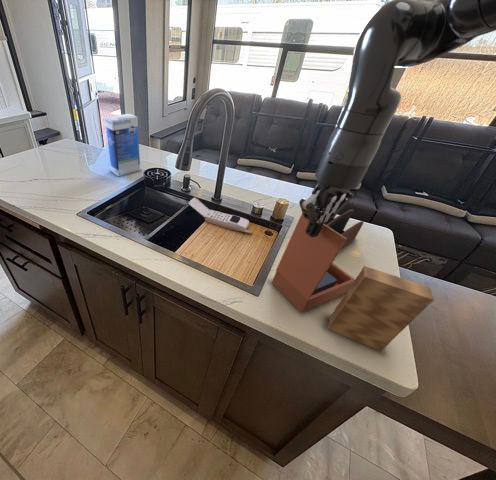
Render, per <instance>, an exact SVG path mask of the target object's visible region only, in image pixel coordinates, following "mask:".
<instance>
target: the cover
mask: <svg viewBox="0 0 496 480" xmlns="http://www.w3.org/2000/svg"><path fill="white" fill-rule="evenodd" d="M308 223H309V220H308V219H306V218H304V216H303V213H302V212H301V215H300V217H299V218H298V221H297V223H296V226H295V227H294V230H293V232H292V234H291V236H290V238H289V241H288V243H287V246H286V247H285V250H284V251H283V253H282V256H281V259H280V260H279V263H278V265H277V266H276V271H278V272H279V273H280V274H281V275H282V276H283V277H284V278H285V279H286V280H287V281H288V282H290V283H291V284H292V285H293V286H294V287H295V288H296V289H297V290H298V291H299V292H300V293H301V294H302V295H303V296H304V297H305V298H306V299H307V300H309V299H310V297H311V296H312V294H313V293H314V291H315V289H316V288H317V286H318V284H319V283H320V281H321V280H322V278H323V276H324V275H325V273H326V272H327V270H328V268H329V267H330V265H331V264H332V263H334V260H335V259H336V257H337V255H338V254H339V252H340V251H341V250H342V249H341V247H342V246H343V244H344V243H345V241H346V239H347V238H346V237H344V236H342V235H341V234H339V233H338V232H336V231H335V230H333V229H332V228H330V227H328V226H327V225H325V224H323V226H322V228H321V230H320V232H319V235H318V236H315V237H310V236H309V235H307V234H306V233H305V231H306V228H307V226H308Z"/></svg>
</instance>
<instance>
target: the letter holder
mask: <svg viewBox="0 0 496 480" xmlns="http://www.w3.org/2000/svg"><path fill="white" fill-rule="evenodd" d="M354 211H355V210H354V208H353V209H349V210H347V211H345V212H342V213H341V214H339V215H337V216H335V217H334V218H331V217H330V218H329V219H328V221H327V222H325V223H324V224H325V225H327V226H328V227H330V228H332V229H333V230H335V231H336V232H338V233H339V234H341V235H342V236H344V237H346V238H347V239H346V241H345V243H344V244H343V246H342V247H341V249H340V250H342V249H344V248H345V247H346V246H347V245H349V244H350V243H352V242H353V241H354V240H355V239H356V238H357V236H358V234H359V232H360V230H361V228H362V226H363V225H364V220H361V221H359V222H357V223H355V224H353V225H352V226H351V227H349V228H347V229H346V230H345V228H346V226H347V225H348V222H349V221H350V219H351V217H352V215H353V214H354Z"/></svg>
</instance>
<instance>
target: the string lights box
mask: <svg viewBox="0 0 496 480" xmlns="http://www.w3.org/2000/svg"><path fill="white" fill-rule="evenodd" d="M138 121H139V120H138V116H137V115H134V114H132V113H124V114H123V113H122V114H117V115H110V116H104V124H105V131H106V139H107V140H106V141H107V147H108V155H109V164H110V171H111V173H113V174H115V175H116V177H121V176H125V175H128V174H133V173H135V172H136V173H137V172H139V171H141V160H140V158H141V157H140V140H139V138H140V137H139V122H138Z"/></svg>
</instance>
